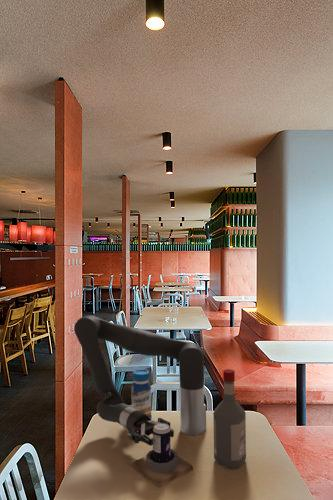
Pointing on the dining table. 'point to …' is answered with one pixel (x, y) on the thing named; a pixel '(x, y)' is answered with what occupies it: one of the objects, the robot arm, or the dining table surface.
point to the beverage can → (161, 443)
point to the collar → (162, 466)
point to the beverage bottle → (141, 392)
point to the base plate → (165, 477)
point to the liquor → (229, 427)
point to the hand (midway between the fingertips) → (162, 438)
